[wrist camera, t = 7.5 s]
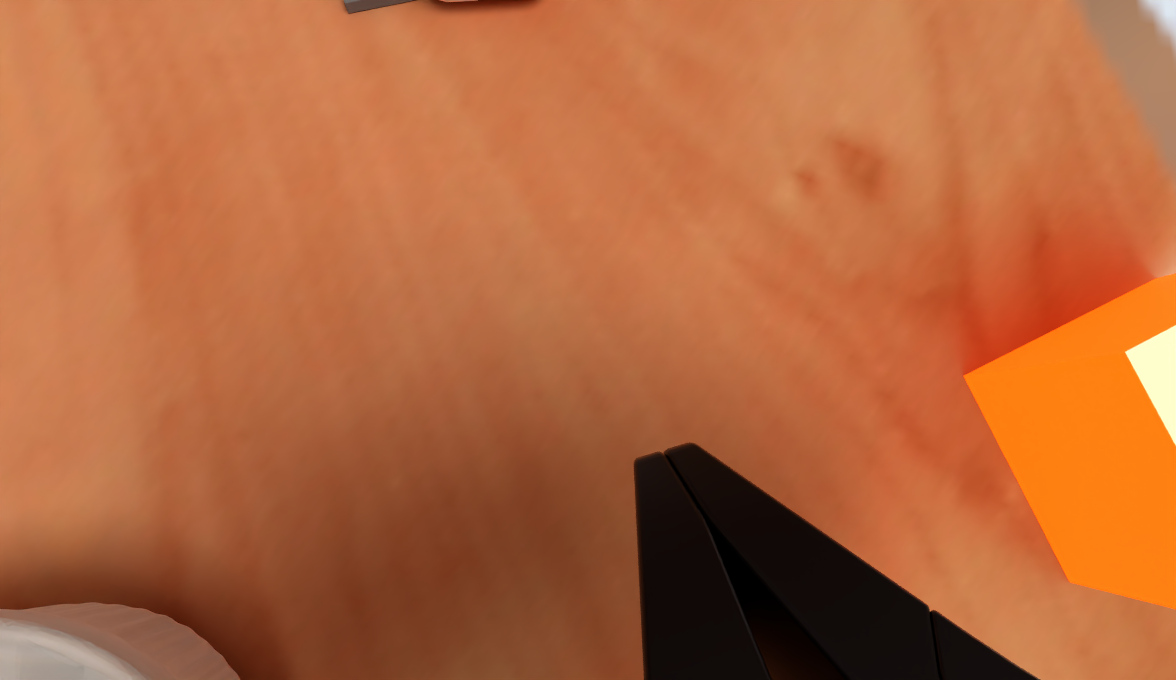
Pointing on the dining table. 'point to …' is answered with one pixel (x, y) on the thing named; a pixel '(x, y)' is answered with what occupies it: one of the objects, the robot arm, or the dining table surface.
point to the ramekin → (103, 645)
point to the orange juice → (1097, 439)
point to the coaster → (369, 4)
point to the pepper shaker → (456, 0)
